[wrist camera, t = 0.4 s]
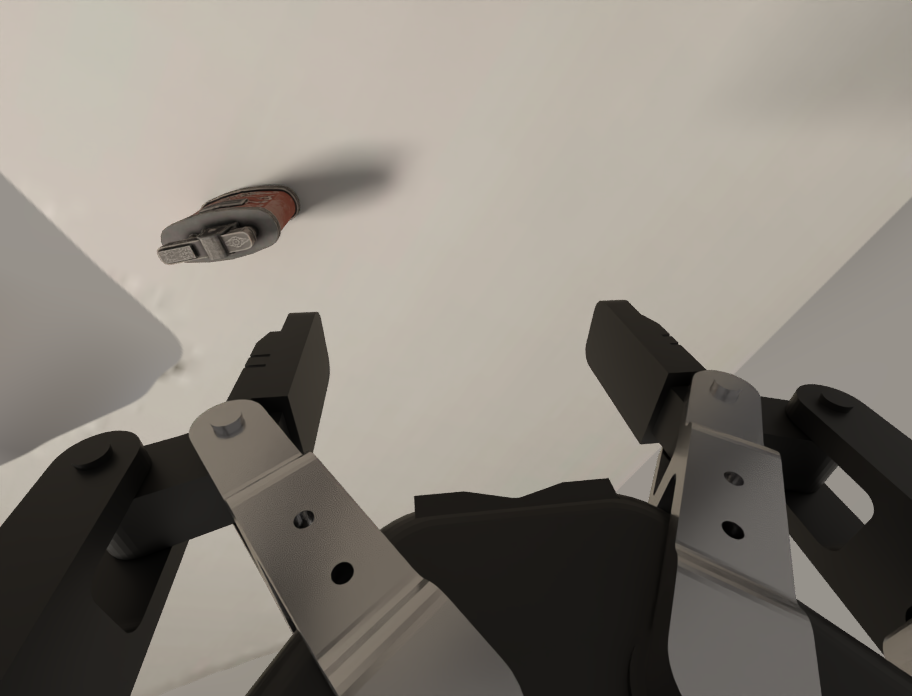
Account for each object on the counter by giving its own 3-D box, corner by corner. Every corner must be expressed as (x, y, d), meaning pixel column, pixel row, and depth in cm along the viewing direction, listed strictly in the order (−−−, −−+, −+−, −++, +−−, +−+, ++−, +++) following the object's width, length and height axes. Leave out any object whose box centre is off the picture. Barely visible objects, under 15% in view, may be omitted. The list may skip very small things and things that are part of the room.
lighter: (291, 178, 34) (255, 210, 25) (306, 218, 36) (277, 261, 27) (195, 197, 34) (128, 236, 25) (216, 237, 36) (159, 285, 27)
